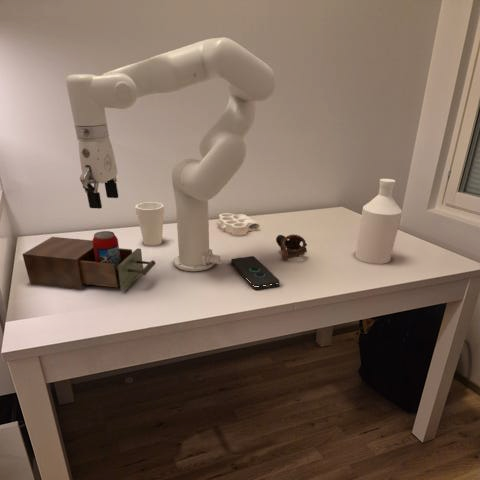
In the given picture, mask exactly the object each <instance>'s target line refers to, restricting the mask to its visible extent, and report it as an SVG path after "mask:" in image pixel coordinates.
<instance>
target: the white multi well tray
mask: <svg viewBox="0 0 480 480" xmlns="http://www.w3.org/2000/svg"><path fill="white" fill-rule="evenodd" d="M215 224H216V225H218V226H219V228H220V229H222V230H223V232H225V233H228V234H231V235H232V236H238V237H239V236H245V235H247V233H248V232H253V231H256V230H258V229H260V226H261V225H260V223H259V222H257V221H255V220H254V219H252V218H251V217H250V216H248V215H246V214H245V213H243V214H242V213H241V214H235V213H234V214H233V213H228V212H226V213H220V214H219V215H218V222H216V223H215Z"/></svg>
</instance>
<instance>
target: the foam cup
mask: <svg viewBox="0 0 480 480" xmlns="http://www.w3.org/2000/svg"><path fill="white" fill-rule="evenodd" d="M164 213H165V206H164V204H163V203H162V202H157V201H147V202H141V203H140V202H139V203H137V204H136V205H135V214H136V216H137V220H138V224H139V228H140V233H141V235H142V236H141V237H142V241H143V244H144V245H146V246H148V247H150V246H152V247H153V246H159V245H161V244H162V243H163V232H164V231H163V229H164Z"/></svg>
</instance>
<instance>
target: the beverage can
mask: <svg viewBox="0 0 480 480" xmlns="http://www.w3.org/2000/svg"><path fill="white" fill-rule="evenodd" d="M92 243H93V249H94V255H95V261H96V262H101V263H111V264H115V265H116V272H117V276H118V275H119V273H118V265H119V264H120V263H121V259H120V252H119V248H120V247H119V246H120V245H119V239H118V236H116V234H115V232H113V231H111V230H110V231H109V230H103V231H101V230H100V231H98V232H96V233H94V234H93V238H92Z"/></svg>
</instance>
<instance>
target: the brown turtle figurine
mask: <svg viewBox="0 0 480 480" xmlns="http://www.w3.org/2000/svg"><path fill="white" fill-rule="evenodd" d="M275 242H276V244H277V245H278V247H279V248H280V252H283V253H282V255H281V258H282V259H283V260H284V261H286V260H288V259H295V258H300V256H303V255H304V254H305V253H308V250H307V246H308V244H307V242H306V240H305V238H304V237H303V236H301V235H299V234H289V235H287V236H285V235H283V234H279V235H277V236H276V237H275ZM301 242H302V245H301Z"/></svg>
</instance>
